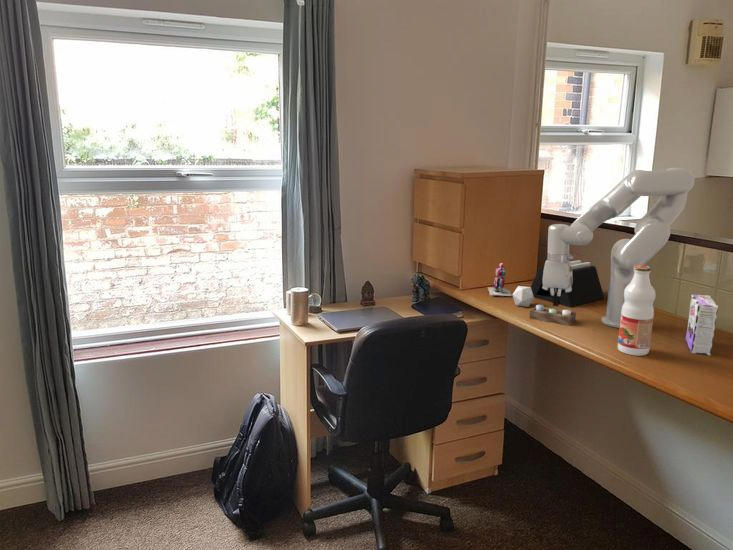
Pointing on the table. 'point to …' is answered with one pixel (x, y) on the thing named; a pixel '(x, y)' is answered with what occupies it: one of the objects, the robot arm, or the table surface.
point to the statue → (499, 284)
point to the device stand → (573, 286)
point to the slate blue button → (540, 307)
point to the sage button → (553, 311)
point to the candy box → (701, 324)
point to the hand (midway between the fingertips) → (556, 305)
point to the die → (523, 296)
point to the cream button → (566, 312)
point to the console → (552, 316)
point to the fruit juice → (637, 314)
